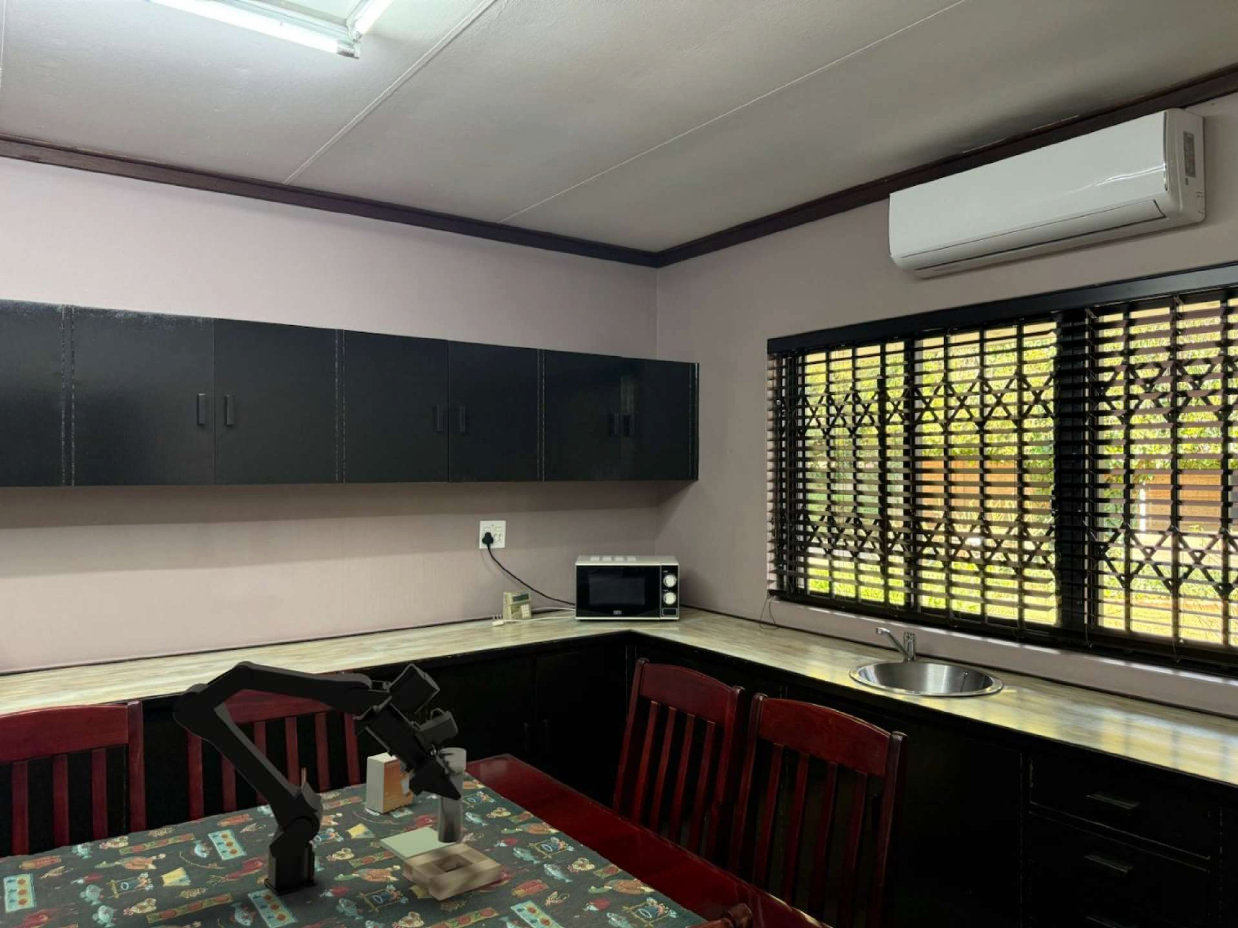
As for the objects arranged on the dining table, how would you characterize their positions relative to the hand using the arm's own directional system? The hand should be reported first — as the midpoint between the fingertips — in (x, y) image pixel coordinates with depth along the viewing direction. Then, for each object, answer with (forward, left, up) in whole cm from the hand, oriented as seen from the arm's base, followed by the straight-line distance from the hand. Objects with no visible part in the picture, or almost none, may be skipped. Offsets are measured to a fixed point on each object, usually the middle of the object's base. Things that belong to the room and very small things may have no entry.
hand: (458, 793), depth 156 cm
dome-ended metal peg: (-1, +1, -8) cm, 8 cm away
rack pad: (0, +14, -13) cm, 19 cm away
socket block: (-2, -1, -13) cm, 14 cm away
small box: (+6, +36, -14) cm, 39 cm away
